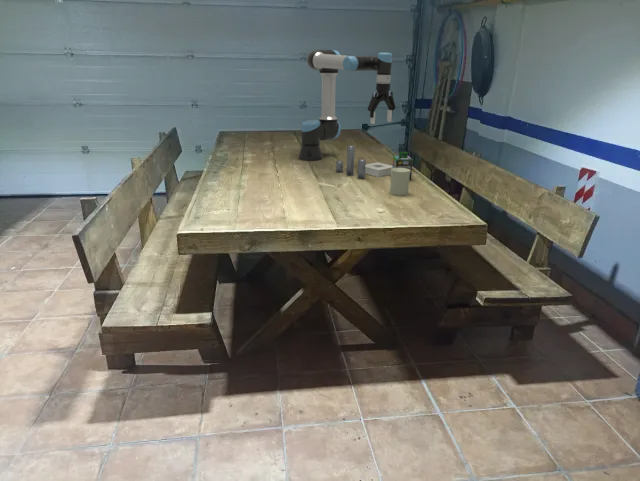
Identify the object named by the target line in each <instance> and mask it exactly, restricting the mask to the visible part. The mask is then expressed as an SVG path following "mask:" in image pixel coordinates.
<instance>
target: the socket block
mask: <svg viewBox="0 0 640 481" xmlns="http://www.w3.org/2000/svg"><path fill="white" fill-rule="evenodd" d="M392 167H393V165H390V164H386V163H383V162H379V161H377V162H373V163H366V166H365V175H370V176H373V177H376V178H380V177H385V176H391V169H392Z"/></svg>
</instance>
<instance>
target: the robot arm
mask: <svg viewBox="0 0 640 481" xmlns="http://www.w3.org/2000/svg"><path fill="white" fill-rule="evenodd" d="M392 62H393V55H392V53H391V52H379V53H378V54H377V55H376V56H375V55H374V56H373V55H344V54H343V55H342V54H341V53H340V52H339V51H338V50H335V49H314V50H311V52H309V53H308V54H307V58H306V63H307V65H308V67H309V68H310V69H311V70H314V71H319V75H321V116H320V117H319V118H318V119H308V120H305V121H303V122H302V123H301V130H300V131H301V142H300V143H301V147H300V150H299V152H298V159H300V160H301V161H309V162H310V161H311V162H312V161H320V160H323V154H322V149H321V141H322V142H323V141H328V140H329V141H332V140H335V139H337V138H338V137H339V136H340V134H341V131H342V125H341V123H340V122H339V121H338V118H337V116H336V83H337V82H336V80H337V79H336V77H337V75H338V74H339V70H341V71H347V72H358V71H359V72H360V71H363V72H365V71H366V72H370V71H371V72H372V71H373V72H376V84H375V85H376V86H375V87H376V88H375V90H376V92H372V96H371V99H370V101H369V104H368V106H367V107H368V108H367V111H369V113H370V114H369V117H370V122H369V123H370V124H372V125H375V123H376V109H377V107H378V106H379V104H380V103H381V102H383V101H384V103H385V104H386V106H387V108H388V109H387V113H386V114H387V116H386V122H388V123H391V122H392V116H393V111H394V110H396V104H395V100H394V96H393V95H394V93H393V91H390V90H391V79H392V78H391V77H392V66H393V65H392V64H393V63H392Z"/></svg>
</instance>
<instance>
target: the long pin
mask: <svg viewBox="0 0 640 481" xmlns="http://www.w3.org/2000/svg"><path fill="white" fill-rule="evenodd" d="M355 149H356V146H355V145H347V151H346V176H351V177H352V176H354V174H355V172H354V171H355V155H356V154H355V152H356V151H355Z"/></svg>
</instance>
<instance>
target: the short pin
mask: <svg viewBox="0 0 640 481" xmlns="http://www.w3.org/2000/svg"><path fill="white" fill-rule="evenodd" d="M343 172H344V161H343V160H336V161H335V173H341V174H342V173H343Z"/></svg>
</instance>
